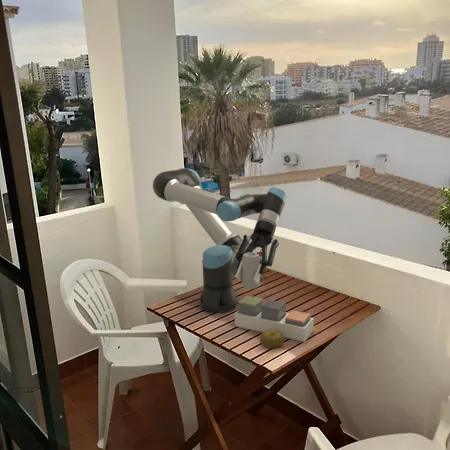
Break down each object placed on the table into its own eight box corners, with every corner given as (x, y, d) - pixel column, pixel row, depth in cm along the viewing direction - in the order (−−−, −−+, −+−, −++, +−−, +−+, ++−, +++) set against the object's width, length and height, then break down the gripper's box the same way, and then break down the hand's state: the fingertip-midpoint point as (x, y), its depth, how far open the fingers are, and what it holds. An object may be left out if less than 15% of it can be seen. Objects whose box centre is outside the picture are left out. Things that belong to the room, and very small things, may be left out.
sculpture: (272, 341, 149) (254, 332, 155) (271, 352, 150) (254, 343, 156) (289, 333, 154) (271, 325, 160) (288, 344, 155) (271, 336, 161)
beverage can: (262, 284, 168) (262, 253, 165) (256, 290, 163) (256, 258, 160) (246, 282, 171) (246, 250, 168) (239, 288, 165) (239, 256, 162)
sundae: (262, 282, 210) (262, 250, 207) (249, 280, 214) (249, 248, 210) (269, 278, 216) (269, 247, 212) (256, 275, 219) (256, 245, 215)
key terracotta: (285, 333, 160) (285, 317, 159) (292, 326, 166) (292, 310, 164) (303, 337, 157) (303, 321, 156) (309, 329, 162) (309, 314, 161)
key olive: (238, 317, 168) (238, 301, 167) (246, 310, 174) (246, 295, 172) (254, 320, 165) (254, 305, 164) (262, 313, 171) (262, 298, 169)
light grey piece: (234, 326, 168) (234, 313, 167) (246, 316, 176) (245, 304, 175) (304, 342, 156) (304, 328, 155) (313, 331, 163) (313, 318, 162)
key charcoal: (261, 322, 164) (261, 306, 162) (268, 315, 169) (269, 299, 168) (278, 326, 161) (278, 309, 159) (285, 318, 166) (285, 303, 165)
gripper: (293, 233, 171) (274, 289, 161) (246, 226, 180) (226, 280, 170) (288, 222, 165) (268, 280, 155) (240, 216, 174) (218, 270, 165)
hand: (246, 280), depth 163 cm, fingers closed on beverage can, 6 cm apart
